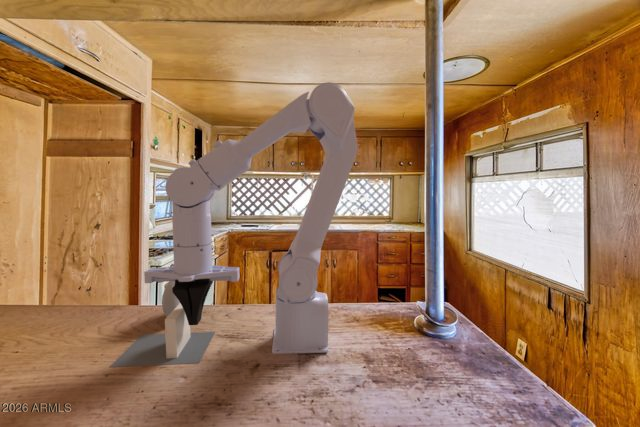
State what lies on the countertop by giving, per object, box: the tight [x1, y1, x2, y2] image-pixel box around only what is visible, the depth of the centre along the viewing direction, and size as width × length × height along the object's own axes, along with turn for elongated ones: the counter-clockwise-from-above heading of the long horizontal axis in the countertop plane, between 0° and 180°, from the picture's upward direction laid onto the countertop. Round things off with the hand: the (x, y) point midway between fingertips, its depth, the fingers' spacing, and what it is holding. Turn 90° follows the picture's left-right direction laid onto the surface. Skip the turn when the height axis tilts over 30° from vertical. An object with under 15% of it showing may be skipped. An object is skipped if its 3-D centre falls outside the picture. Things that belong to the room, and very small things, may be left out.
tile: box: [164, 303, 192, 358], centre depth 46 cm, size 2×6×6 cm, turn 6°
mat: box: [109, 331, 216, 368], centre depth 46 cm, size 13×9×1 cm
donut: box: [161, 281, 180, 318], centre depth 56 cm, size 10×4×10 cm, turn 168°
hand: (195, 322), depth 46 cm, fingers closed
